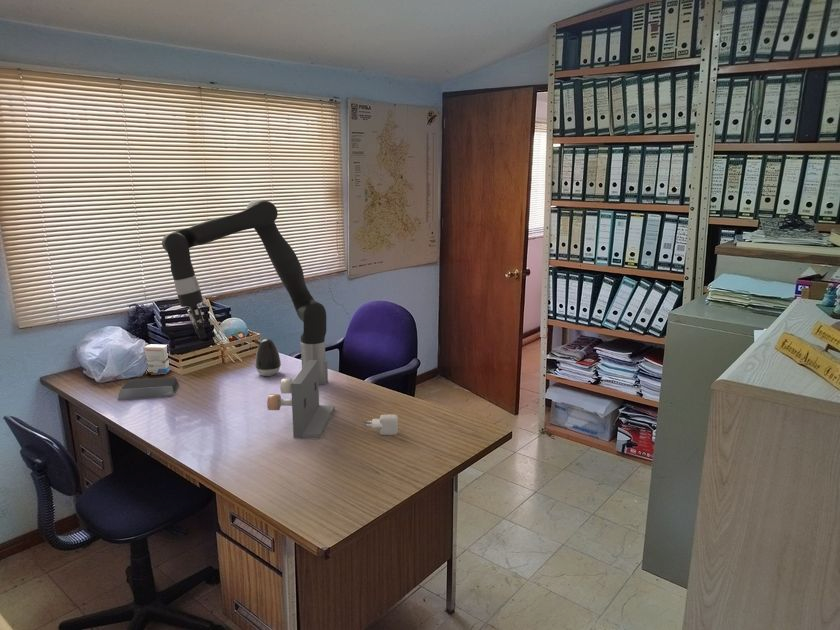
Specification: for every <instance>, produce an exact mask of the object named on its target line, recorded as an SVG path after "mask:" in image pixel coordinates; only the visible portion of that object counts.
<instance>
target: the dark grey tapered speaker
mask: <svg viewBox="0 0 840 630" xmlns="http://www.w3.org/2000/svg"><path fill="white" fill-rule="evenodd" d="M253 342H254V343H255V344H256V345H258V347H257V349H256V350H257V351H256V354H255V364H254V365H255V366H254V367H255V368H256V371H257V373H258V374H259V375H260V376H263V377H271V376H274V375H275V376H276V374H277V373H278V372H279V371H280V367H281V365H282V361H281V356H280V353H279V349H278V348H277V346H276V343H275V342H274V341H273V339H271V338H264V339H262V340H261V341H259V340H256V339H255V340H254V341H253Z"/></svg>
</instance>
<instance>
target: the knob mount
mask: <svg viewBox="0 0 840 630" xmlns="http://www.w3.org/2000/svg"><path fill="white" fill-rule="evenodd" d="M319 387H320V386H318V360H309V361H308V362H307V363H306V365H305V366H304V367H303V369H302V368H301V370H300V372H299V373H298V374H297V375H296V377H294V379H293V382H292V383H291V393H290V394H291V400H292V406H291V411H292V412H291V413H292V414H291V415H292V432H293V433H292V434H293V439H309V438H315V440H317V439H318V440H319V439H322V436H323V434H324V432H325V430H326V428H327V426H328V424H329V422H330V420H331V418H332V416H333V414H334V413H335V410H336V407H335V405H329V404H324V405H323V404H321V405H320V394H319V393H320V391H319V389H320V388H319ZM316 438H317V439H316Z"/></svg>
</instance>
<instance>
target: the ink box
mask: <svg viewBox="0 0 840 630" xmlns="http://www.w3.org/2000/svg"><path fill="white" fill-rule="evenodd" d="M167 345H168V344H157V343H156V344H154V343H153V344H152V343H150V344H147V345H145V346H143V352H145V354H144V356H145V355H146V358H147V363H148V369H147V371H148V372H153V373H167V372H169V370H170V366H169V359H168V353H167ZM147 371H146V372H147ZM169 373H170V372H169Z"/></svg>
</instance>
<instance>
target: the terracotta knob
mask: <svg viewBox="0 0 840 630" xmlns="http://www.w3.org/2000/svg"><path fill="white" fill-rule="evenodd" d="M281 396H282V395H281V394H277V393H275V394H273V393H272V394H271V393H269V395H268V396H267V400H266V401H267V402H266V405H267V410H268V411H280V409H281V407H283V406H284V407H285V406H286V407H292V398H291V399H289V398H288V399H285V398H283V399H282V397H281Z"/></svg>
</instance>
